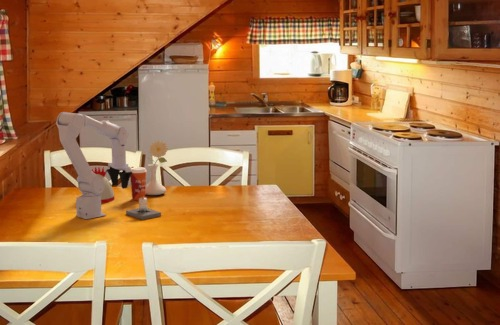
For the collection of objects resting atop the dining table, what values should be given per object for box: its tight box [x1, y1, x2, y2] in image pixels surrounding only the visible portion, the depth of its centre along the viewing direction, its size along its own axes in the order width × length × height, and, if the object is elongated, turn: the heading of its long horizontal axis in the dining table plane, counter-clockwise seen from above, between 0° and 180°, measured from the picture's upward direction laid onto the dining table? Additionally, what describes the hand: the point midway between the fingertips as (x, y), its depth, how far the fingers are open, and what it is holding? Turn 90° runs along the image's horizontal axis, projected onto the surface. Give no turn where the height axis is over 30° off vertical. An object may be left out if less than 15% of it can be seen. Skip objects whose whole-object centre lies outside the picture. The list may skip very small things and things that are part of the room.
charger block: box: [125, 207, 162, 221], centre depth 283 cm, size 9×12×2 cm
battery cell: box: [138, 196, 148, 213], centre depth 282 cm, size 3×3×8 cm
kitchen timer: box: [91, 166, 115, 204], centre depth 308 cm, size 14×14×15 cm
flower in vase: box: [145, 140, 168, 196], centre depth 318 cm, size 13×11×25 cm
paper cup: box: [129, 166, 148, 202], centre depth 309 cm, size 8×8×14 cm
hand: (119, 186), depth 292 cm, fingers open, 7 cm apart
